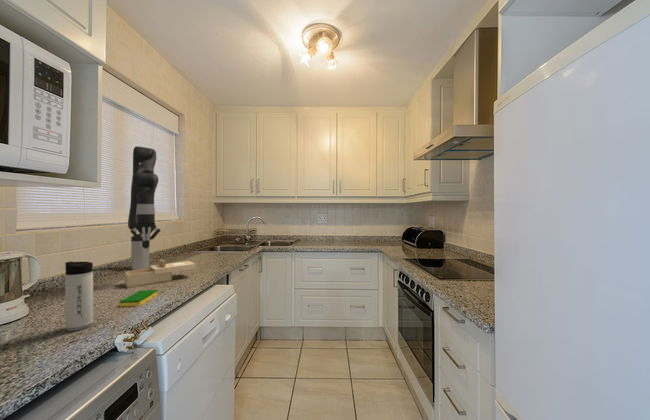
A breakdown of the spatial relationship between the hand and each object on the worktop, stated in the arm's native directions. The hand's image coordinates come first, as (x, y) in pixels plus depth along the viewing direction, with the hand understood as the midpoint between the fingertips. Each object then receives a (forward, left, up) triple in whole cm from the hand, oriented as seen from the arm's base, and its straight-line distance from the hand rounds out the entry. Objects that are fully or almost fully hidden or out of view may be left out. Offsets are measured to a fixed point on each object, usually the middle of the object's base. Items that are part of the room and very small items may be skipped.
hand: (145, 248), depth 132 cm
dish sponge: (+29, -7, -18) cm, 35 cm away
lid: (0, +12, -12) cm, 17 cm away
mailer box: (0, +1, -17) cm, 17 cm away
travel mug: (+46, -25, -17) cm, 55 cm away
